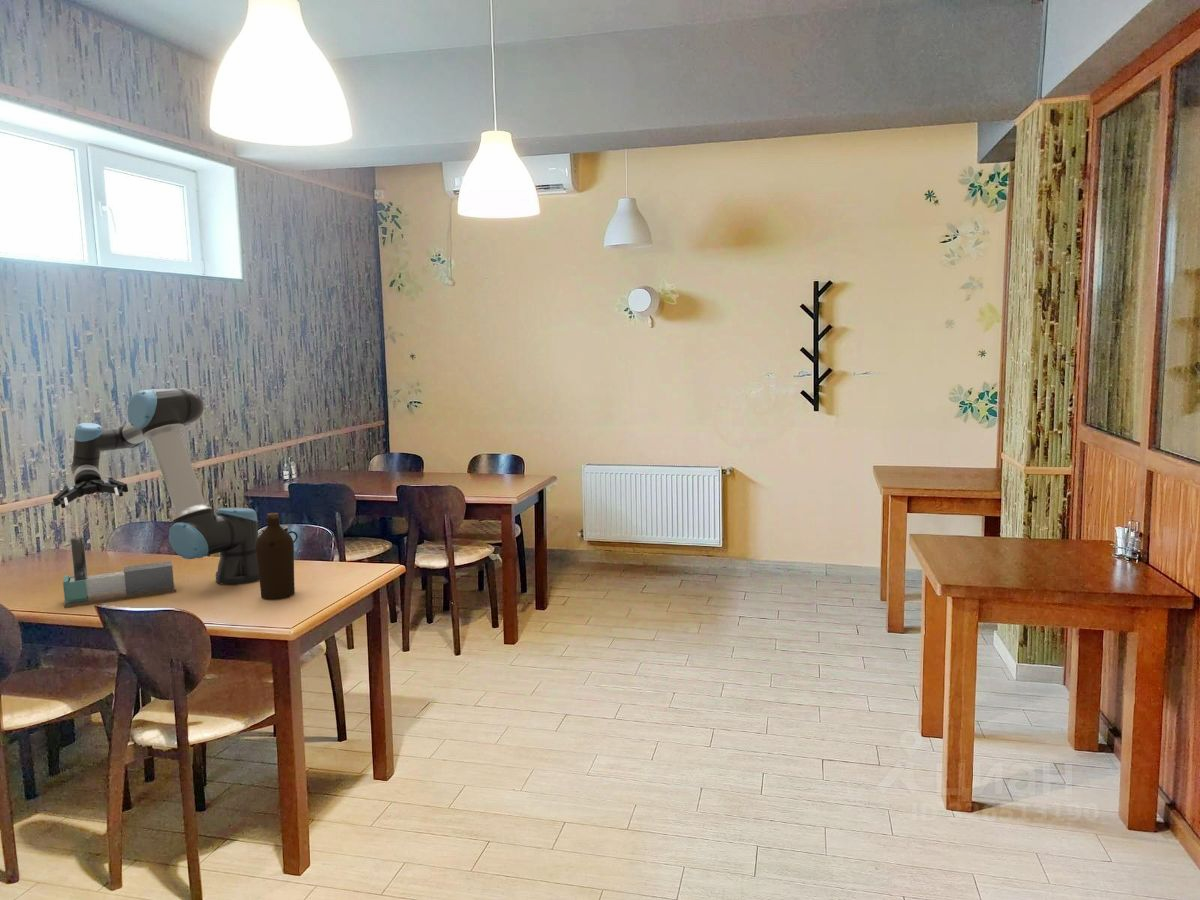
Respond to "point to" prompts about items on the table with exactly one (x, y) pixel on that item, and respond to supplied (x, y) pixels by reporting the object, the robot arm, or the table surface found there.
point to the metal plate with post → (94, 582)
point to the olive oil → (275, 561)
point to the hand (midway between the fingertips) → (93, 504)
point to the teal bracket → (74, 590)
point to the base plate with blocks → (137, 584)
